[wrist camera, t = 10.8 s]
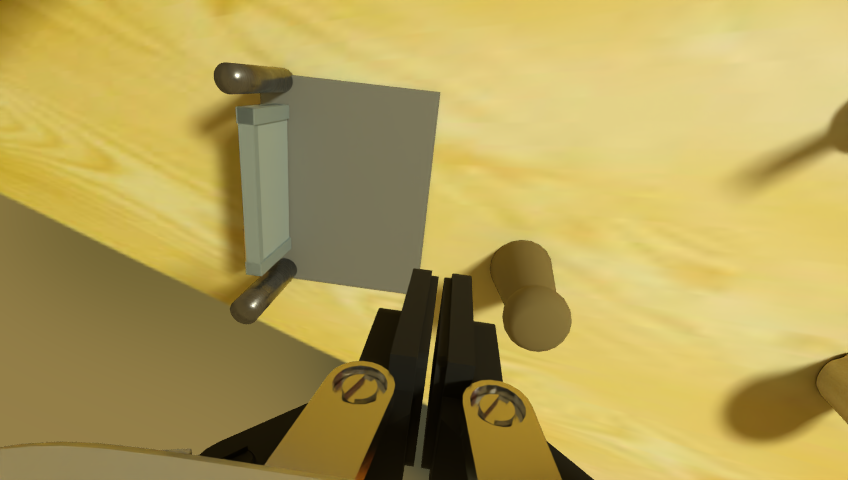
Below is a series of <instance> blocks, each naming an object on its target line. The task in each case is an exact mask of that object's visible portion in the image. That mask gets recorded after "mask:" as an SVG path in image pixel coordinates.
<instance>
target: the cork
mask: <svg viewBox="0 0 848 480" xmlns="http://www.w3.org/2000/svg"><path fill="white" fill-rule="evenodd" d="M490 271H491V276H492V279H493V281H494V283H495V286H496V288H497V290H498V292H499V294H500V296H501V299H502V301H503V303H504V305H505V306H504V311H503V316H502V317H503V323H504V329H505V331H506V332H507V334H508V336H509V337H510V339H511V340H512V341H513V342H514V343H515V344H517V345H518V346H520V347H522V348H524V349H527V350H529V351H537V352H540V351H547V350H550V349H552V348H555V347H556V346H558V345H559V344H560V343H562V342H563V341H564V339H565V338H566V336H567V335H568V333H569V331H570V327H571V312H570V309H569V307H568V305H567V303H566V302H565V300H564V298H563V297H561V296H560V295H559V294H558V293H557V292H556V288H555V282H554V276H553V270H552V264H551V259H550V257H549V255H548V253H547V251H546V250H545V249H544V248H542V247H541V246H540V245H539V244H536V243H534V242H532V241H525V240H519V241H513V242H510V243H508V244H506V245H504V246H502V247H501V248H500V249H499V250H498V251H497V252H496V253H495V255H494V257H493V259H492V260H491V266H490Z"/></svg>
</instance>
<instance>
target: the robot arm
mask: <svg viewBox="0 0 848 480" xmlns="http://www.w3.org/2000/svg"><path fill="white" fill-rule="evenodd" d="M431 275H432V271H430V270H423V269H416V268H413V271H412V275H411V279H410V283H409V286H408V290H407V294H406V297H405V301H404V305H403V308H402V311H398V310H391V309H384V308H379V310H378V312H377V315H376V317H375V320H374V323H373V325H372V328H371V331H370V333H369V336H368V339H367V341H366V344H365V346H364V349H363V352H362V354H361V357H360V360H359V361H354V362H349V363H346V364H342V365H340V366H339V367H337V368H335V369H334V370H333V371H332V372H331V373H330V374H329V375H328V376H327V377H326V379H325V380H324V381H323V383H322V384H321V386H320V387H319V389H318V390H317V391H316V393H315V394H314V396H313V397H312V398H311V400H310V401H309V403H307V404H304V405H302V406H300V407H298V408H296V409H293V410H291V411H288V412H286V413H284V414H282V415H279V416H277V417H275V418H272V419H270V420H268V421H266V422H264V423H261V424H259V425H257V426H254V427H252V428H250V429H247V430H245V431H243V432H241V433H238V434H236V435H234V436H231V437H229V438H227V439H224V440H222V441H220V442H218V443H216V444H214V445H213V446H211V447H209V448H207V449H206V450H205V451H203V452H202V453H201V454H200V455H192V450H191V449H175V450H155V449H147V448H139V447H130V446H121V445H111V444H102V443H82V442H46V443H28V444H17V445H11V446H4V447H0V480H402V478H403V472H404V465H407V466H414V460H415V452H416V445H417V437H418V430H419V422H420V415H421V408H422V400H423V393H424V386H425V378H426V371H427V363H428V356H429V348H430V340H431V332H432V325H433V317H434V309H435V301H436V293H437V286H438V278H439V277H438V276H431ZM424 437H425V438H424V446H423V455H422V464H421V467H422V468H426V469H430V474H429V480H594V479H592V478H591V477H590V476H589V475H588V474H586V473H585V472H584V471H583V470H581V469H580V468H579V467H578V466H577V465H575V464H574V463H573V462H572V461H570V460H569V459H568V458H567V457H566V456H564V455H563V454H562V453H561V452H559V451H558V450H557V449H556V448H555V447H553V446H552V445H551V444H550V443H548V442H547V441H546V439H545V436H544V434H543V432H542V429H541V427H540V424H539V422H538V419H537V417H536V414H535V412H534V409H533V407H532V405H531V403H530V402H529V400H528V398H527V397H526V396H525V395H524V394H523V393H522V392H521V391H519V390H518V389H516V388H514V387H513V386H511V385H509V384H506V383H503V380H502V372H501V365H500V357H499V350H498V342H497V335H496V328H495V325H494V324H489V323H482V322H475V321H473V300H472V277H471V276H467V275H460V274H452V278H444V285H443V292H442V299H441V306H440V313H439V320H438V328H437V335H436V342H435V349H434V356H433V364H432V373H431V382H430V391H429V400H428V409H427V418H426V427H425V436H424Z"/></svg>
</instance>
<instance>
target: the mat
mask: <svg viewBox="0 0 848 480" xmlns="http://www.w3.org/2000/svg"><path fill="white" fill-rule="evenodd" d="M291 76H292V79H293V85H292V87H291V89H290V90H289V91H287V92H277V93H260V95H261V104H270V103H277V104H285V105H289V119H287V141H288V197H289V237H291V249H290V250H289V251H288V252H287V253H286V254H285V255H284V256H283V257H282V258H287V259H290V260H292V261H293V262H294V263H295V265H296V267H297V273H296V275H295V276H294V278H296V279H304V280H311V281H318V282H325V283H332V284H339V285H346V286H354V287H361V288H368V289H375V290H382V291H389V292H396V293H404V294H407V290H408V286H409V283H410V279H411V275H412V271H413V268H416V269H420V264H421V256H422V247H423V238H424V229H425V221H426V212H427V203H428V194H429V186H430V177H431V168H432V160H433V151H434V142H435V133H436V125H437V116H438V107H439V98H440V92H432V91H424V90H415V89H406V88H398V87H389V86H381V85H372V84H363V83H355V82H346V81H338V80H329V79H320V78H312V77H303V76H295V75H291Z"/></svg>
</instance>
